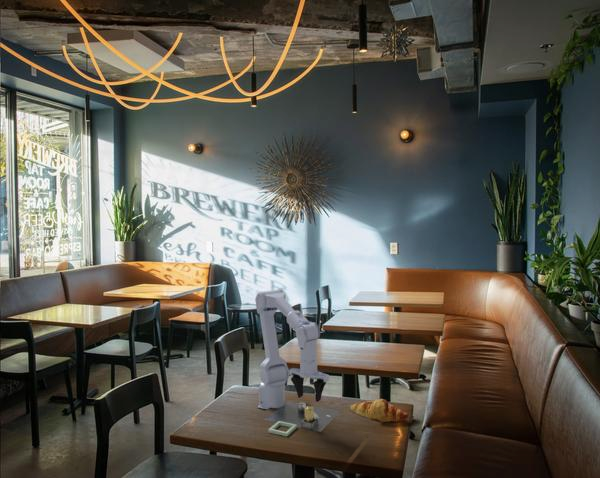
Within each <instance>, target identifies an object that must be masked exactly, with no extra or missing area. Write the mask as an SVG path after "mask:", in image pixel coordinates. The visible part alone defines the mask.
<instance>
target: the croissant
mask: <svg viewBox="0 0 600 478" xmlns="http://www.w3.org/2000/svg"><path fill="white" fill-rule="evenodd" d="M350 410H351V412H353V413H355V414H356V415H359V416H361V417H365V418H367V419H369V420H378V421H380V422H379V423H385V422H386V423H387V422H390V421H394V422H395V421H396V422H402V421H404V420H407V419H408V416H409V414H408V413H407V412H405V411H404V412H403V410H402V409H400V408H396V407H395V406H394V405H393V404H392V403H389V402H388V401H387V399H383V398H380V399H376V400H366V401H364V402H357V403H355V404H351V405H350Z"/></svg>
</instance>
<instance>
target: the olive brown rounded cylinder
mask: <svg viewBox="0 0 600 478" xmlns="http://www.w3.org/2000/svg"><path fill="white" fill-rule="evenodd" d="M312 406H313V405H312ZM312 406H306V407H305V422H309V423H313V407H312Z"/></svg>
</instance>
